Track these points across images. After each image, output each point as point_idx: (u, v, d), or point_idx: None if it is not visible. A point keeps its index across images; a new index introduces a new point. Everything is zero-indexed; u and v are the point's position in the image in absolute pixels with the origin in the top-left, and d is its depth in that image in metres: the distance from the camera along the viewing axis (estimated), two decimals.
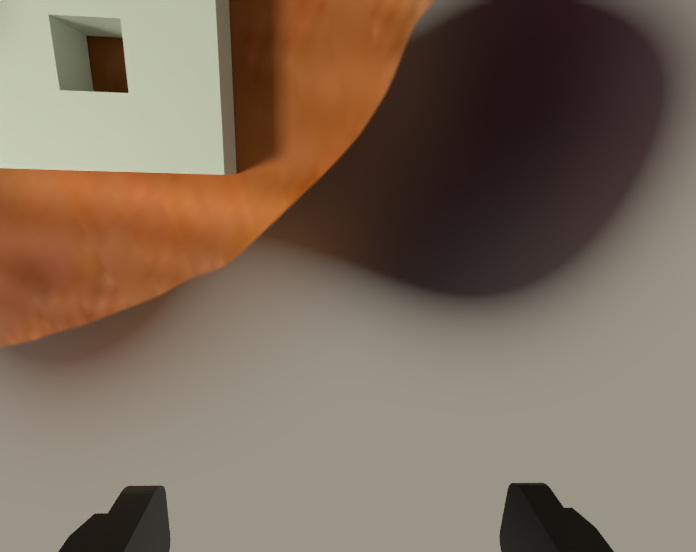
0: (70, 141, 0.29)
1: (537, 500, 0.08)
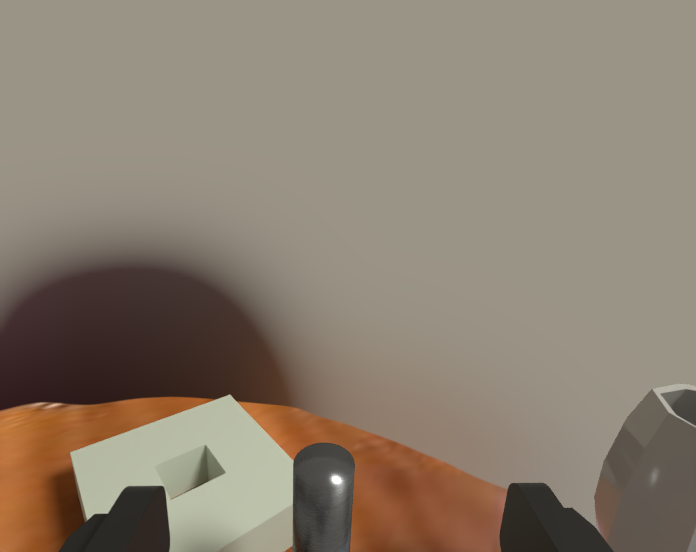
0: (259, 454, 0.38)
1: (537, 500, 0.08)
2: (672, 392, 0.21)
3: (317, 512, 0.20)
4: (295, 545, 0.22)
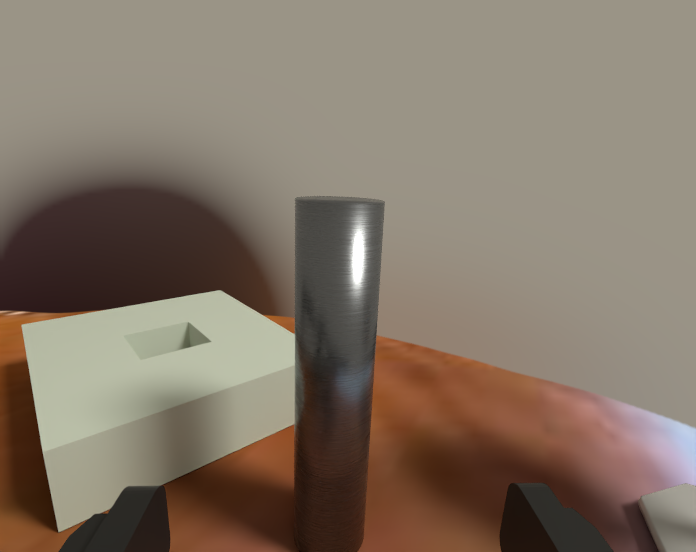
0: (253, 329, 0.31)
1: (537, 500, 0.08)
2: None
3: (332, 248, 0.14)
4: (299, 325, 0.15)
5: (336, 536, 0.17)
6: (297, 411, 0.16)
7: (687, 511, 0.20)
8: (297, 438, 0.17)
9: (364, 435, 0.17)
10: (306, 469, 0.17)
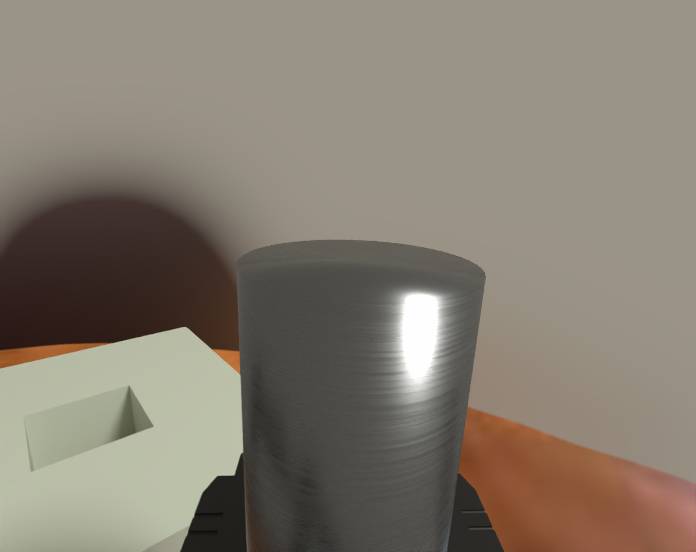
0: (220, 399, 0.22)
1: None
2: None
3: (343, 431, 0.04)
4: None
5: None
6: None
7: None
8: None
9: None
10: None
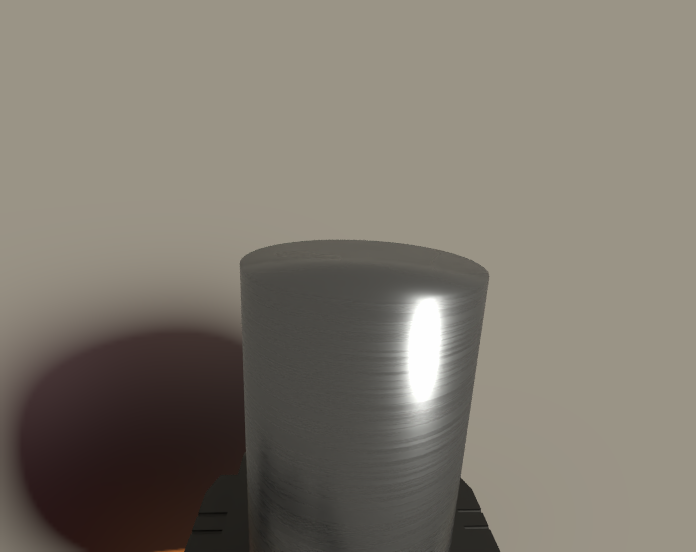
0: None
1: None
2: None
3: (347, 431, 0.04)
4: None
5: None
6: None
7: None
8: None
9: None
10: None
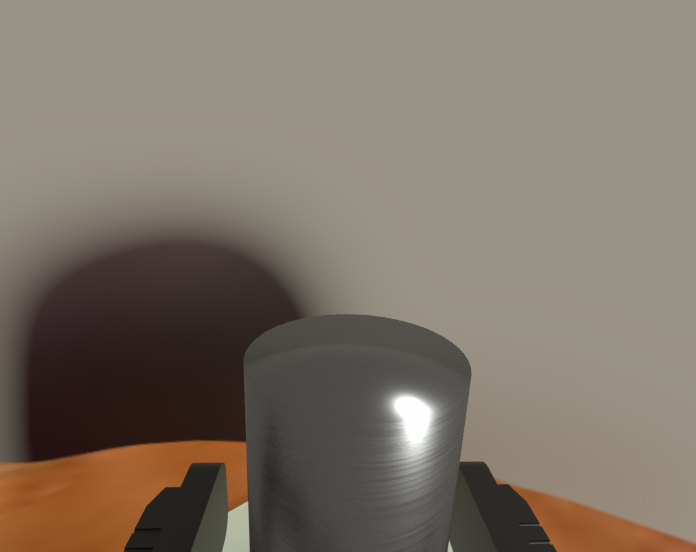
0: None
1: (473, 476, 0.09)
2: None
3: (340, 531, 0.05)
4: None
5: None
6: None
7: None
8: None
9: None
10: None
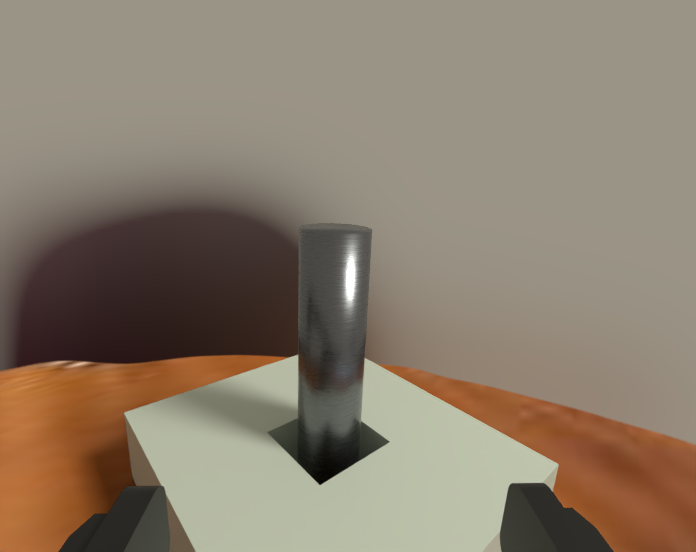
0: (427, 415, 0.24)
1: (537, 500, 0.08)
2: None
3: (329, 269, 0.17)
4: (302, 330, 0.19)
5: None
6: (300, 401, 0.20)
7: None
8: (300, 424, 0.20)
9: (356, 421, 0.20)
10: (308, 450, 0.20)
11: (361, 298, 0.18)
